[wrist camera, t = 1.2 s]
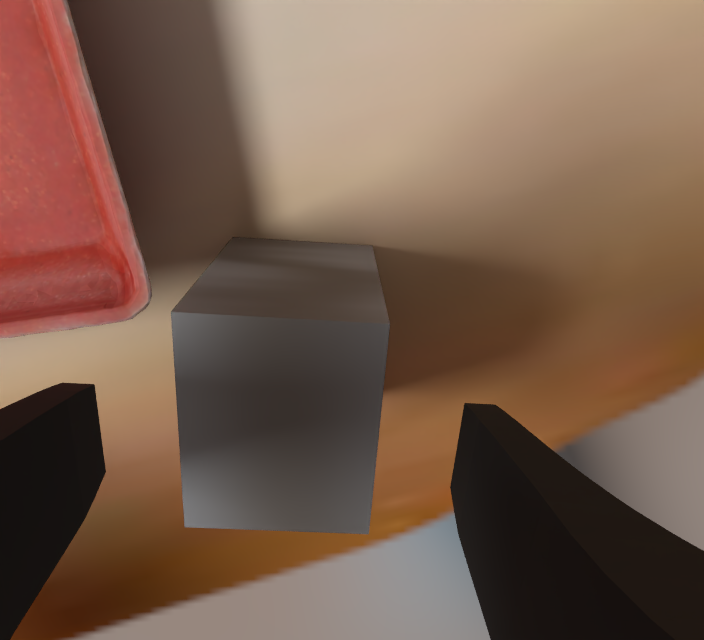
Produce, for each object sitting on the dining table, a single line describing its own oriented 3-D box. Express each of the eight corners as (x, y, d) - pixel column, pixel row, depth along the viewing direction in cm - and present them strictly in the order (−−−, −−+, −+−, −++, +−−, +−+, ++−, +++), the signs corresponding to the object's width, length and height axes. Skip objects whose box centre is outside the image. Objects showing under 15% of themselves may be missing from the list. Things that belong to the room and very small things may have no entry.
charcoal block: (235, 390, 17) (184, 526, 12) (233, 236, 15) (170, 311, 10) (359, 396, 17) (368, 533, 12) (372, 245, 15) (390, 323, 10)
